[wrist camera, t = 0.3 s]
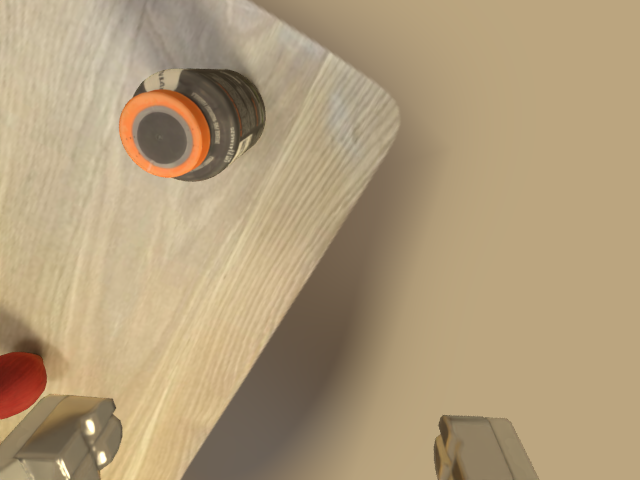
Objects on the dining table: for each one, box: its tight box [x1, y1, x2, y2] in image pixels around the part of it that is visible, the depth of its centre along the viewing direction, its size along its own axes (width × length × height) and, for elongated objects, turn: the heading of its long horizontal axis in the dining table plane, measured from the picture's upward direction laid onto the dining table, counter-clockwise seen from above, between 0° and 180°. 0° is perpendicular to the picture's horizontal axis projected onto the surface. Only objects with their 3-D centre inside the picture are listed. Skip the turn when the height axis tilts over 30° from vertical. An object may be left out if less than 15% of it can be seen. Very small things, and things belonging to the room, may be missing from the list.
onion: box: [0, 352, 47, 419], centre depth 35 cm, size 6×6×8 cm
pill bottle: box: [119, 69, 266, 182], centre depth 22 cm, size 6×6×11 cm
